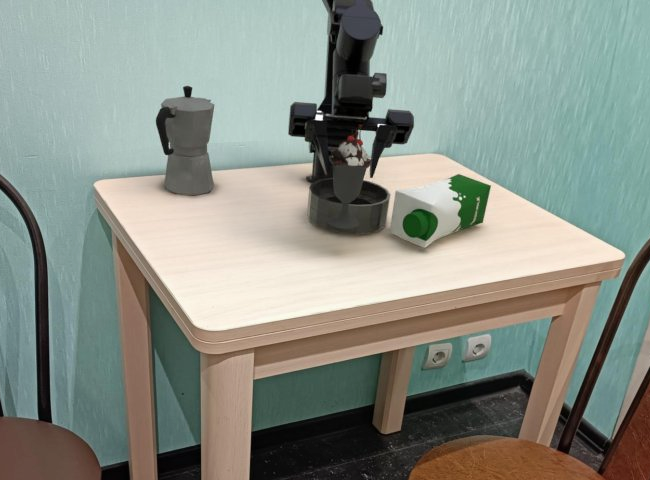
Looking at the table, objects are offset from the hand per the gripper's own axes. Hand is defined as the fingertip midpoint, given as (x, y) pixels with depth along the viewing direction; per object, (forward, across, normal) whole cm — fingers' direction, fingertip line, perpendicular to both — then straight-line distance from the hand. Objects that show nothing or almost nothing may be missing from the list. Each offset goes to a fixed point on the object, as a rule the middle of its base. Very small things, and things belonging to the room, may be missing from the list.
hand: (349, 175), depth 114 cm
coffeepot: (-9, -27, +28) cm, 40 cm away
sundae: (+5, 0, +7) cm, 8 cm away
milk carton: (-7, +25, +20) cm, 33 cm away
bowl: (-1, +2, +20) cm, 20 cm away
